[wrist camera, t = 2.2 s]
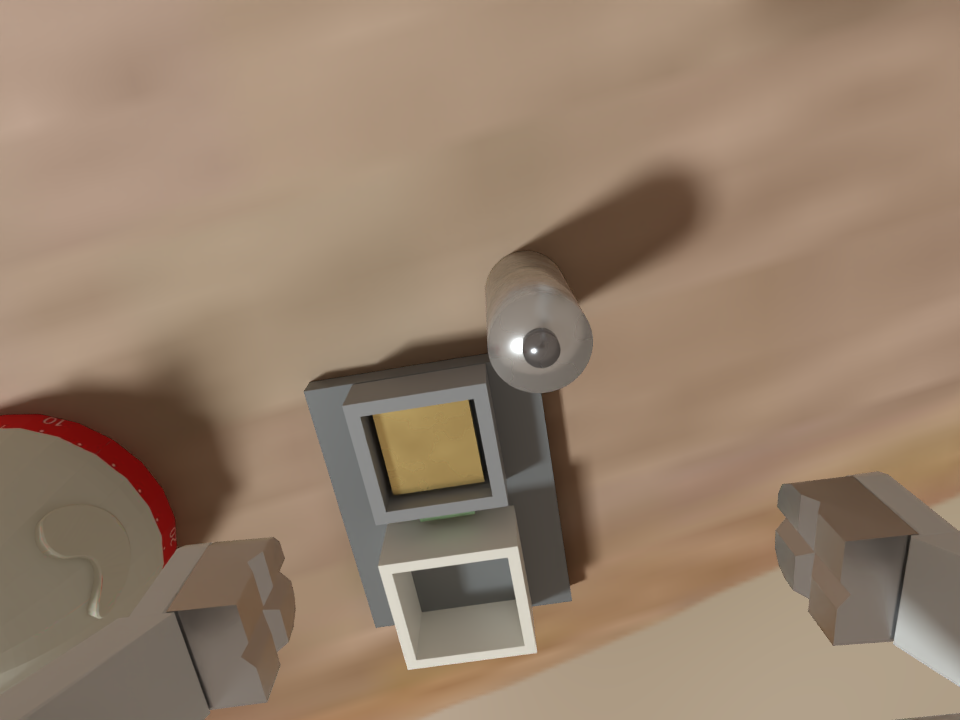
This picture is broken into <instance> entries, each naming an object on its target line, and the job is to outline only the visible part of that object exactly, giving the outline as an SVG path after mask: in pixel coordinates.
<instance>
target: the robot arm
mask: <svg viewBox="0 0 960 720" xmlns="http://www.w3.org/2000/svg"><path fill="white" fill-rule="evenodd" d="M777 507H778V508H779V509H780V511H781V512H782V513H783V514H784V516H785V517H786V518H785V520H784V521H783V522H782V523H781V524H780V526H779V527H778V528H777V529H776V536H775V550H776V554H777V559H778V563H779V567H780V569H781V571H782V573H783V575H784V578H785V579H786V581H787V582H788V584H789V585H790V587H791V588H792V589H793V590H794V591H796V592H797V593H799V594H801V595H803V596H805V597H807V598H808V599H809V610H808V612H809V613H810V615H811V616H812V617H813V619H814V620H815V621H816V622H817V624H818V626H819V627H820V628H821V630H822V631H823V632H824V634H825V635H826V637H827V638H828V639H829V640H830V642H831V643H832V645H833V646H835V645H849V644H863V643H877V642H891V641H894V643H893V644H894V645H896V646H897V647H899V648H900V649H902V650H903V651H905V652H906V653H908V654H909V655H911V656H912V657H914V658H916V659H917V660H919V661H920V662H922V663H923V664H925V665H926V666H928V667H930V668H931V669H933V670H934V671H936V672H937V673H939V674H941V675H942V676H944V677H945V678H947V679H948V680H950V681H951V682H953V683H955V684H956V685H958V686H959V687H960V531H958V530H957V529H956V528H954V527H953V526H952V525H951V524H950V523H948V522H947V521H946V520H944V519H943V518H942V517H941V516H940V515H938V514H937V513H936V512H934V511H933V510H932V509H931V508H929V507H928V506H927V505H926V504H924V503H923V502H922V501H921V500H919V499H918V498H917V497H916V496H914V495H913V494H912V493H911V492H909V491H908V490H907V489H906V488H904V487H903V486H902V485H901V484H899V483H898V482H897V481H896V480H894V479H893V478H892V477H891V476H889V475H888V474H885V473H882V472H879V471H877V472H870V473H863V474H855V475H848V476H846V477H838V478H829V479H821V480H813V481H805V482H796V483H788V484H782V486H781V488H780V491H779V493H778V504H777ZM284 559H285V557H284V554H283V551H282V548H281V545H280V542H279V541H278V540H277V539H275V538H274V537H270V538H258V539H246V540H234V541H223V542H215V543H211V542H210V543H201V544H192V545H185V546H182V547H180V548H178V549H177V550H176V551H175V552H174V554H173V555H172V557H171V558H170V560H169V561H168V562H167V564H166V565H165V567H164V568H163V569H162V571H161V572H160V574H159V575H158V576H157V578H156V579H155V581H154V582H153V583H152V585H151V586H150V588H149V589H148V590H147V592H146V593H145V595H144V596H143V597H142V599H141V600H140V602H139V603H138V604H137V606H136V607H135V609H134V610H133V611H132V613H131V614H130V616H129V617H124V618H118V619H116V620H115V621H113V622H112V623H110V624H109V625H107V626H106V627H104V628H102V629H101V630H99V631H98V632H96V633H95V634H93V635H92V636H90V637H89V638H87V639H85V640H84V641H82V642H81V643H79V644H78V645H76V646H75V647H73V648H72V649H70V650H68V651H67V652H65V653H64V654H62V655H61V656H59V657H58V658H56V659H55V660H53V661H52V662H50V663H48V664H47V665H45V666H44V667H42V668H41V669H39V670H38V671H36V672H35V673H33V674H31V675H30V676H28V677H27V678H25V679H24V680H22V681H21V682H19V683H18V684H16V685H15V686H13V687H11V688H10V689H8V690H7V691H5V692H4V693H2V694H1V695H0V720H204V719H205V718H206V717H207V716H208V715H209V714H210V710H212V709H220V708H228V707H235V706H243V705H251V704H258V703H266V702H267V701H268V698H269V696H270V693H271V690H272V687H273V684H274V682H275V679H276V676H277V673H278V671H279V668H280V662H279V658H278V655H277V652H278V651H279V650H280V649H281V648H282V647H283V646H285V645H286V644H287V643H288V642H289V639H290V636H291V633H292V630H293V627H294V618H295V609H296V608H295V597H294V591H293V587H292V583H291V581H290V580H289V579H288V578H287V577H286V576H284V575H283V574H282V573H281V572H280V569H281V567H282V564H283V562H284ZM897 720H960V713H956V714H946V715H937V716H927V717H918V718H908V719H897Z"/></svg>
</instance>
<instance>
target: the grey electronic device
mask: <svg viewBox="0 0 960 720" xmlns="http://www.w3.org/2000/svg"><path fill="white" fill-rule="evenodd" d="M304 394H305V397H306V401H307V404H308V407H309V410H310V414H311V417H312V420H313V424H314V427H315V430H316V433H317V437H318V440H319V443H320V446H321V450H322V453H323V456H324V460H325V463H326V466H327V469H328V473H329V476H330V479H331V482H332V486H333V489H334V492H335V495H336V499H337V502H338V505H339V509H340V512H341V515H342V518H343V522H344V525H345V528H346V531H347V535H348V538H349V541H350V545H351V548H352V551H353V554H354V558H355V561H356V564H357V567H358V571H359V574H360V577H361V581H362V584H363V587H364V590H365V594H366V597H367V600H368V603H369V607H370V610H371V613H372V617H373V620H374V623H375V626H376V628H377V627H385V626H392V625H395V627H396V630H397V634H398V637H399V641H400V644H401V648H402V651H403V654H404V658H405V661H406V665H407V668H408V670H410V669H418V668H425V667H433V666H441V665H448V664H456V663H463V662H471V661H479V660H486V659H494V658H501V657H509V656H517V655H524V654H532V653H537V646H536V637H535V628H534V619H533V611H532V606H539V605H546V604H554V603H561V602H568V601H572V598H571V591H570V584H569V578H568V571H567V564H566V558H565V551H564V544H563V537H562V531H561V524H560V517H559V510H558V504H557V497H556V490H555V483H554V477H553V470H552V463H551V457H550V450H549V443H548V436H547V430H546V423H545V416H544V409H543V403H542V396H541V393H530V392H525V391H521V390H519V389H516V388H514V387H512V386H511V385H509V384H508V383H506V382H505V381H504V380H503V379H502V378H501V377H500V376H499V375H498V374H497V373H496V371H495V370H494V368H493V366H492V364H491V362H490V359H489V355H488V353H487V354H481V355H475V356H469V357H463V358H456V359H450V360H444V361H438V362H432V363H426V364H419V365H413V366H407V367H401V368H395V369H388V370H382V371H376V372H370V373H364V374H358V375H351V376H345V377H339V378H333V379H327V380H321V381H314V382H310V383H309V384H308V386H307V387H306V389H305V390H304ZM464 400H470V405H471V410H472V415H473V420H474V425H475V430H476V435H477V440H478V446H479V451H480V456H481V461H482V466H483V471H484V481H485V482H480V483H473V484H466V485H460V486H453V487H446V488H440V489H433V490H426V491H419V492H413V493H406V494H399V495H393V491H392V487H391V484H390V480H389V476H388V472H387V469H386V465H385V461H384V457H383V453H382V450H381V446H380V442H379V438H378V434H377V431H376V427H375V423H374V419H373V416H372V415H375V414H381V413H388V412H394V411H400V410H407V409H413V408H419V407H426V406H432V405H438V404H445V403H451V402H457V401H464Z"/></svg>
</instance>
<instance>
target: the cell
mask: <svg viewBox="0 0 960 720" xmlns="http://www.w3.org/2000/svg"><path fill="white" fill-rule="evenodd" d="M485 298H486V322H487V346H488V355H489V359H490V362H491V364H492V366H493V368H494V370H495V371H496V373H497V374H498V375H499V376H500V377H501V378H502V379H503V380H504V381H505V382H506V383H508V384H509V385H511V386H512V387H514V388H516V389H519V390H521V391H525V392H530V393H547V392H551V391H555V390H558V389H561V388H563V387H565V386H567V385H568V384H570V383H571V382H573V381H574V380H575V379H576V378H577V377H578V376H579V375H580V374H581V373H582V372H583V370H584V369H585V367H586V365H587V364H588V362H589V359H590V356H591V353H592V347H593V336H592V331H591V328H590V325H589V322H588V320H587V318H586V317H585V315H584V313H583V311H582V309H581V308H580V306H579V304H578V302H577V300H576V298H575V297H574V295H573V293H572V291H571V289H570V288H569V286H568V284H567V282H566V280H565V278H564V277H563V275H562V273H561V271H560V269H559V268H558V267H557V265H556V264H555V263H554V262H553V261H552V260H551V259H549V258H548V257H546V256H545V255H542V254H540V253H537V252H532V251H520V252H515V253H512V254H510V255H508V256H506V257H504V258H503V259H501V260H500V261H499V262H498V263H497V264H496V265H495V266H494V267H493V268H492V270H491V272H490V273H489V276H488V278H487V281H486V287H485Z"/></svg>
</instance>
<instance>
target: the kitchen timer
mask: <svg viewBox="0 0 960 720" xmlns="http://www.w3.org/2000/svg"><path fill="white" fill-rule="evenodd" d="M176 547H177V541H176V526H175V517H174V515H173V512H172V510H171V508H170V505H169V503H168V500H167V498H166V495H165V493H164V491H163V489H162V488H161V486H160V485H159V484H158V483H157V481H156V480H155V479H154V477H153V476H152V475H151V474H150V472H149V471H148V470H147V469H146V467H145V466H144V465H143V463H142V462H140V461H139V460H138V459H137V458H135V457H134V456H133V455H131V454H130V453H129V452H128V451H126V450H125V449H124V448H123V447H121V446H120V445H119V444H118V443H116V442H115V441H114V440H112V439H110V438H108V437H106V436H104V435H102V434H100V433H98V432H96V431H94V430H91V429H89V428H87V427H85V426H83V425H81V424H79V423H76V422H72V421H67V420H63V419H59V418H54V417H50V416H46V415H41V414H22V415H1V416H0V695H1V694H2V693H4V692H5V691H7V690H8V689H10V688H11V687H13V686H15V685H16V684H18V683H19V682H21V681H22V680H24V679H25V678H27V677H28V676H30V675H31V674H33V673H35V672H36V671H38V670H39V669H41V668H42V667H44V666H45V665H47V664H48V663H50V662H52V661H53V660H55V659H56V658H58V657H59V656H61V655H62V654H64V653H65V652H67V651H68V650H70V649H72V648H73V647H75V646H76V645H78V644H79V643H81V642H82V641H84V640H85V639H87V638H89V637H90V636H92V635H93V634H95V633H96V632H98V631H99V630H101V629H102V628H104V627H106V626H107V625H109V624H110V623H112V622H113V621H115V620H116V619H118V618H124V617H129V616H130V614H131V613H132V611H133V610H134V609H135V607H136V606H137V604H138V603H139V602H140V600H141V599H142V597H143V596H144V595H145V593H146V592H147V590H148V589H149V588H150V586H151V585H152V583H153V582H154V581H155V579H156V578H157V576H158V575H159V574H160V572H161V571H162V569H163V568H164V567H165V565H166V564H167V562H168V561H169V560H170V558H171V557H172V555H173V554H174V552H175V550H176Z"/></svg>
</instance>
